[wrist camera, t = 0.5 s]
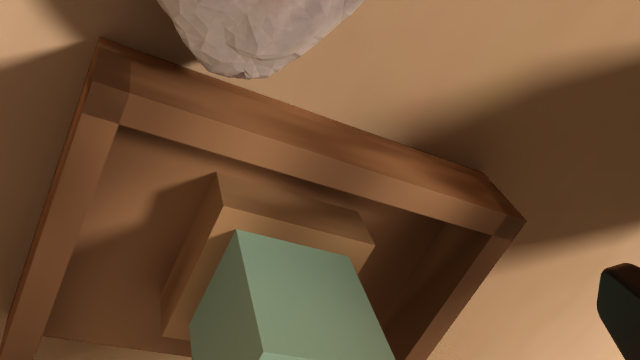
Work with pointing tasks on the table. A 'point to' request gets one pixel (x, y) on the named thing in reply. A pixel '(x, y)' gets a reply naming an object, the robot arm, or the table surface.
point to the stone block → (254, 31)
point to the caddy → (238, 212)
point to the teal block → (285, 306)
